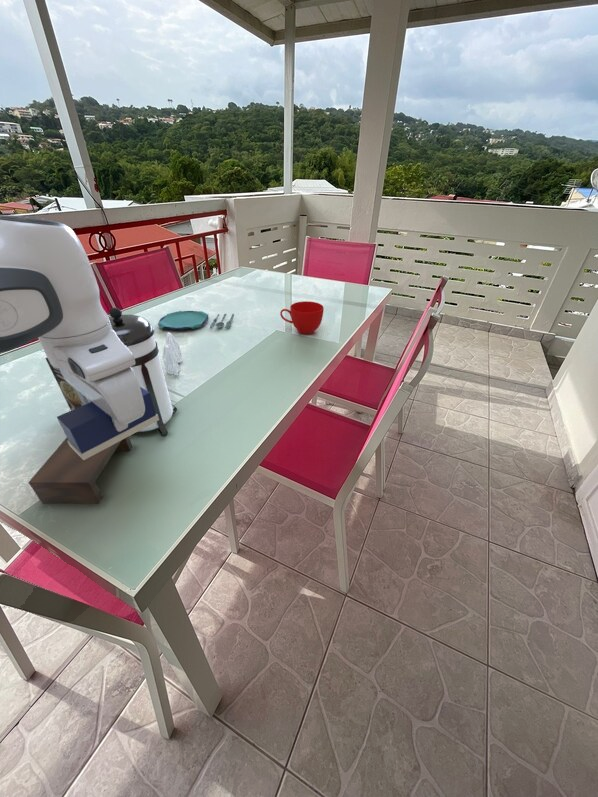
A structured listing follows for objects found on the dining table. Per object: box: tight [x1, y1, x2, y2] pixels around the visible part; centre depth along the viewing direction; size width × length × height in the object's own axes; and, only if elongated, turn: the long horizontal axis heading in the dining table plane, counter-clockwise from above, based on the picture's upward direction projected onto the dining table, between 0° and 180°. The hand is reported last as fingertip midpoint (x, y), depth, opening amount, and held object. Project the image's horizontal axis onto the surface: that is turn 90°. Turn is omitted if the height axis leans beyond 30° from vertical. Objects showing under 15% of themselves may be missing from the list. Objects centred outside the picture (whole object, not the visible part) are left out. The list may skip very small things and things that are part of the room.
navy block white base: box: [56, 387, 159, 460], centre depth 55 cm, size 13×5×6 cm, turn 141°
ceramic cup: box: [279, 300, 325, 335], centre depth 130 cm, size 13×17×10 cm
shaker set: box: [162, 332, 183, 377], centre depth 105 cm, size 12×4×11 cm, turn 8°
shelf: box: [28, 436, 134, 504], centre depth 69 cm, size 11×16×6 cm
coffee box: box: [45, 357, 90, 411], centre depth 84 cm, size 9×6×16 cm
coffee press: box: [108, 307, 178, 437], centre depth 77 cm, size 17×16×30 cm
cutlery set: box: [157, 310, 235, 330], centre depth 138 cm, size 20×30×2 cm, turn 89°
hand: (112, 420), depth 55 cm, fingers closed on navy block white base, 5 cm apart
